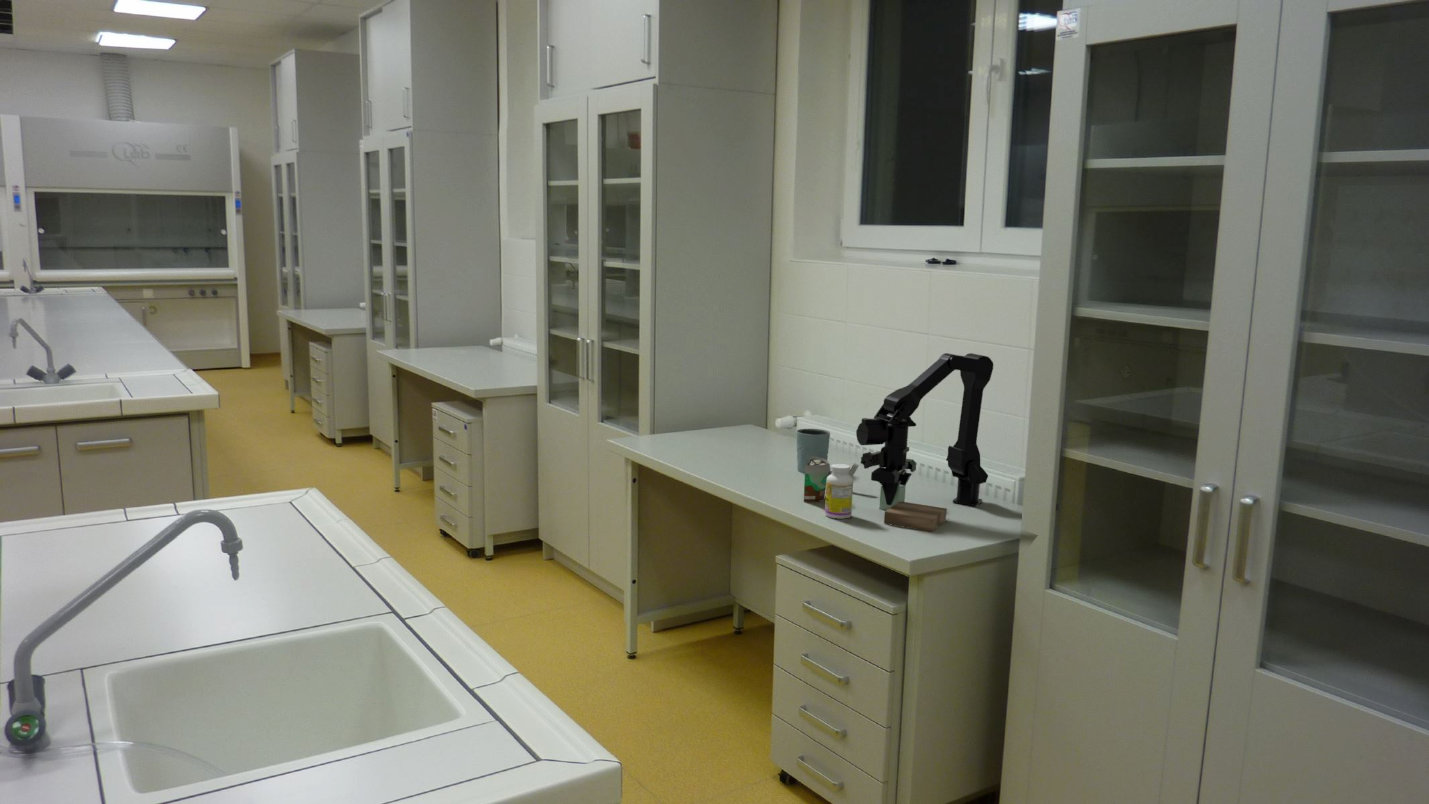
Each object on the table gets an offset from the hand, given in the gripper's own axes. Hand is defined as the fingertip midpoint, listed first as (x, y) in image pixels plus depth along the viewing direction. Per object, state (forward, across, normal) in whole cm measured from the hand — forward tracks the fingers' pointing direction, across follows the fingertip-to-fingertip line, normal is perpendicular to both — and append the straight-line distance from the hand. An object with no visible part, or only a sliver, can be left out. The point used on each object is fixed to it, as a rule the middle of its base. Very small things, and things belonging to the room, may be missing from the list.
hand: (892, 502), depth 262 cm
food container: (+2, +2, -20) cm, 20 cm away
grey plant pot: (+2, -27, -34) cm, 43 cm away
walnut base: (+2, +9, +9) cm, 13 cm away
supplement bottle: (+2, +15, -9) cm, 18 cm away
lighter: (+2, -10, -17) cm, 20 cm away
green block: (+2, 0, 0) cm, 2 cm away
